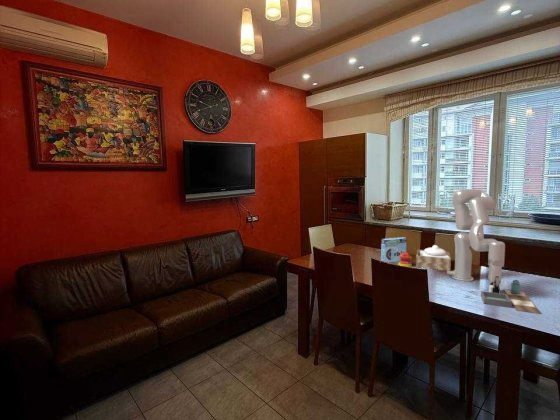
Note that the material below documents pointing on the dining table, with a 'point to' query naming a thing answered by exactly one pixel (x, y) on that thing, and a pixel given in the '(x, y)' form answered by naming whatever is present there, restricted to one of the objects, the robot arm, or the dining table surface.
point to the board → (522, 302)
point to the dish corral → (433, 262)
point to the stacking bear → (405, 260)
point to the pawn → (515, 287)
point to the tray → (496, 299)
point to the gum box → (392, 249)
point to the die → (491, 288)
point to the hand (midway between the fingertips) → (494, 292)
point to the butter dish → (434, 252)
